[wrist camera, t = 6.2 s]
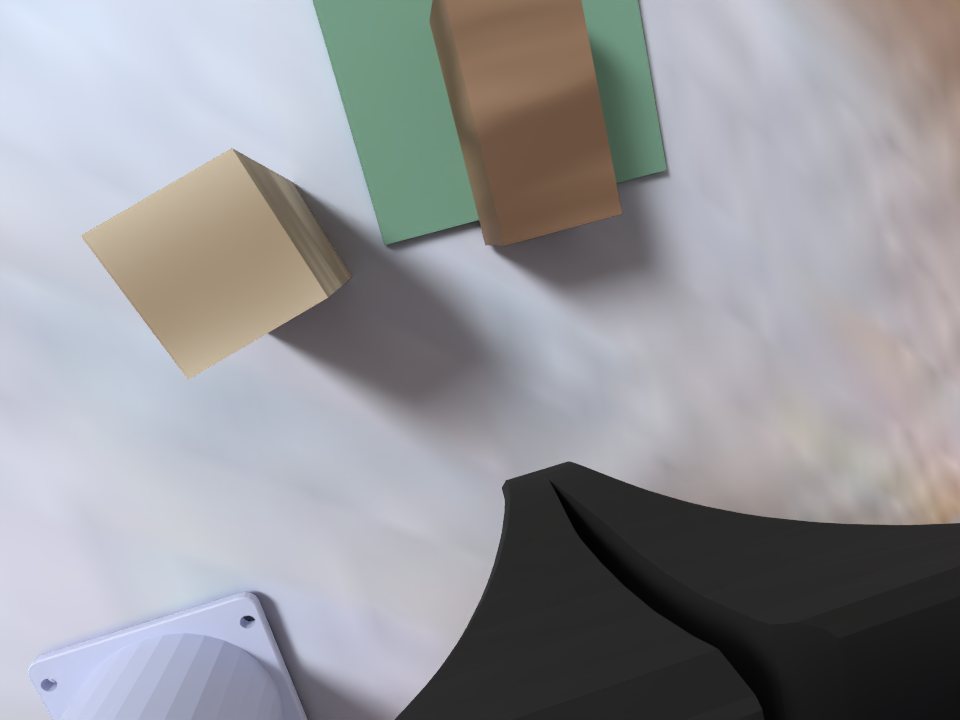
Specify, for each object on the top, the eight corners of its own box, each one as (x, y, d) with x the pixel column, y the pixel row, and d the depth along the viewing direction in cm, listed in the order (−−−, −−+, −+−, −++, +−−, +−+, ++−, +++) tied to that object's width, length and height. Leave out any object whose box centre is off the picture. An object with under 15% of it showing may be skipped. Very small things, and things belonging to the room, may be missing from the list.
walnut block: (622, 214, 16) (569, -61, 14) (504, 246, 16) (437, -31, 14) (582, 218, 20) (536, -4, 18) (485, 244, 19) (429, 21, 18)
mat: (662, 170, 20) (666, 169, 20) (384, 245, 19) (384, 245, 19) (612, -123, 18) (616, -129, 17) (297, -54, 17) (295, -59, 17)
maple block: (352, 277, 19) (328, 297, 12) (261, 330, 19) (188, 379, 12) (293, 182, 18) (232, 148, 12) (197, 237, 18) (80, 235, 11)
